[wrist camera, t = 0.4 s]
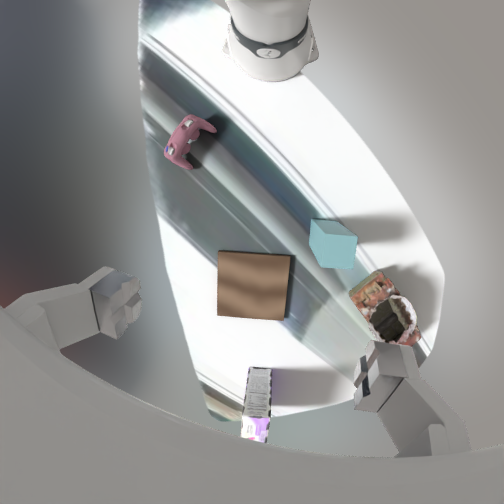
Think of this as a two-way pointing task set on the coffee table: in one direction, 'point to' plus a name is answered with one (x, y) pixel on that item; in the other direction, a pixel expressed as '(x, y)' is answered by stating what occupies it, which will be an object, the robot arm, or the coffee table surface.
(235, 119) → the coffee table surface
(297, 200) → the coffee table surface
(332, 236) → the teal block
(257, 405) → the candy box
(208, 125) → the video game controller
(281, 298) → the walnut board
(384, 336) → the decorative box
